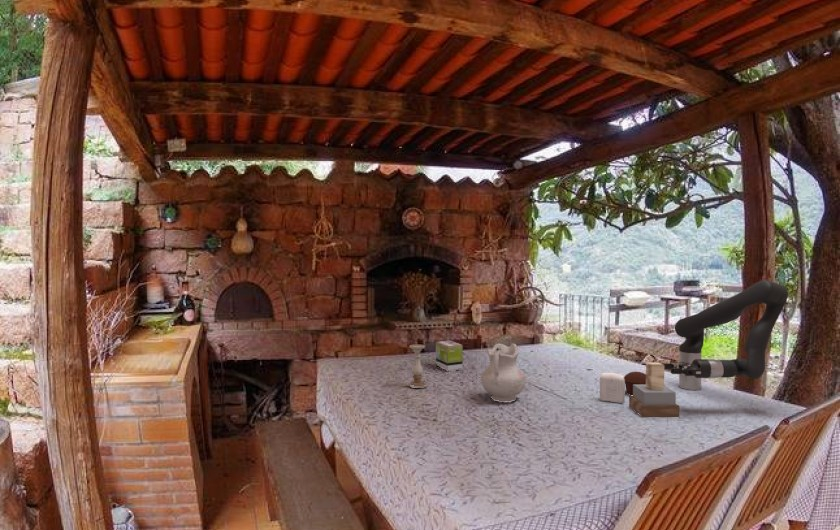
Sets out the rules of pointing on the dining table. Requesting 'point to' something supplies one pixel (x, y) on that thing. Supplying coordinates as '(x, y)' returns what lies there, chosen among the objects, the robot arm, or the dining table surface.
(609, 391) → the photo printer
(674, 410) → the walnut base block
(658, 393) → the slate top block
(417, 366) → the candle holder
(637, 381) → the muffin
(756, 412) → the dining table surface
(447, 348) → the tea box
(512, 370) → the ceramic pitcher
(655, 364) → the birch pillar block
